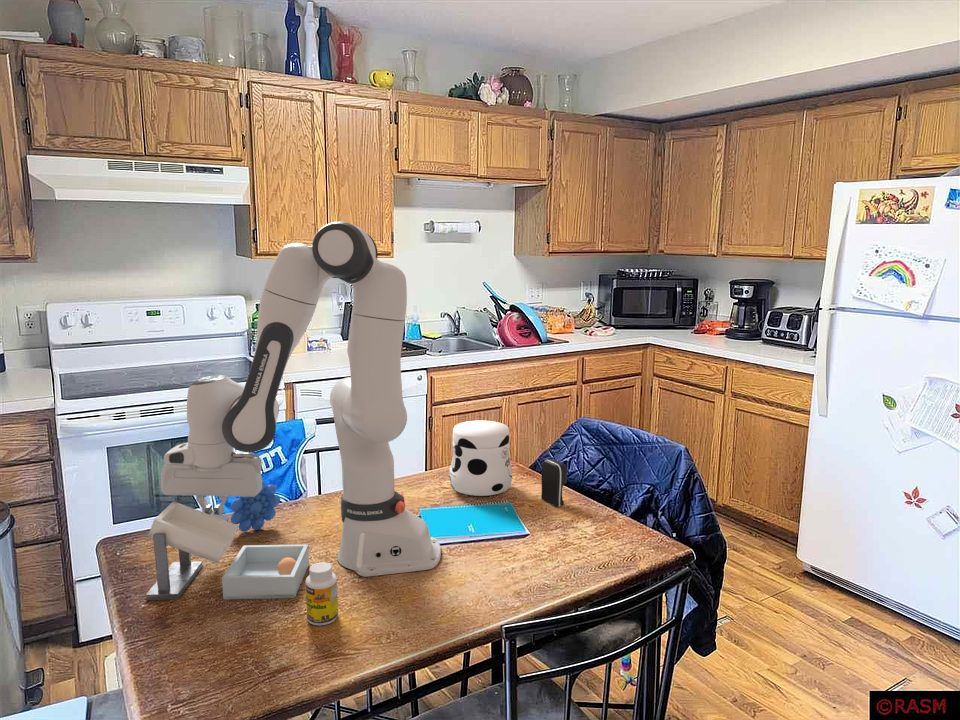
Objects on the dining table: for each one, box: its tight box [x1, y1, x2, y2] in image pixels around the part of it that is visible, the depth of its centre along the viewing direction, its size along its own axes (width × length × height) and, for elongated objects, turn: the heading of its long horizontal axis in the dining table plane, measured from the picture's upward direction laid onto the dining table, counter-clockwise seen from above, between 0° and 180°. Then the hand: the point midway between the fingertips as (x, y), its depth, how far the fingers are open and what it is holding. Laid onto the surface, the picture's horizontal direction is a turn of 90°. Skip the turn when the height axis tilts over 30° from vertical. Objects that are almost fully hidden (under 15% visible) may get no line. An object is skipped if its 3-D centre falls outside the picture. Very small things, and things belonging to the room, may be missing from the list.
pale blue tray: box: [221, 544, 310, 600], centre depth 135 cm, size 14×14×4 cm
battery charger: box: [540, 458, 568, 508], centre depth 174 cm, size 7×4×11 cm, turn 34°
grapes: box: [229, 480, 281, 533], centre depth 158 cm, size 12×7×12 cm, turn 121°
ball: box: [278, 557, 296, 575], centre depth 135 cm, size 4×4×4 cm
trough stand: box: [145, 533, 204, 601], centre depth 133 cm, size 6×13×13 cm, turn 3°
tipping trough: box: [147, 500, 239, 564], centre depth 136 cm, size 14×16×4 cm
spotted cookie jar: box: [448, 419, 513, 499], centre depth 182 cm, size 17×17×18 cm
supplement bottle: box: [305, 561, 339, 626], centre depth 121 cm, size 6×6×10 cm
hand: (213, 513), depth 142 cm, fingers closed
